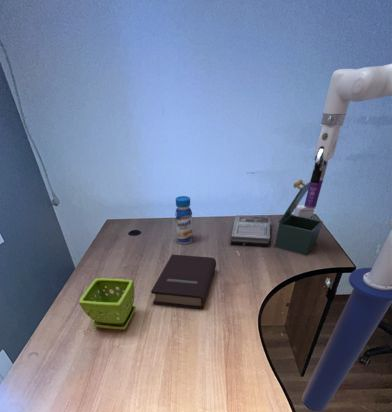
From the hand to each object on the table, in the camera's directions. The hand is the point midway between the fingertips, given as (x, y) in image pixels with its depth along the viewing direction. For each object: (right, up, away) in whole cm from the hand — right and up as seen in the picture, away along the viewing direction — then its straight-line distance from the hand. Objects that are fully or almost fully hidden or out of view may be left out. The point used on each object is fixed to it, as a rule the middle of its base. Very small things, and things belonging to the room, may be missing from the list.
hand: (317, 180), depth 105 cm
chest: (+1, -16, +25) cm, 30 cm away
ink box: (+8, -3, +37) cm, 38 cm away
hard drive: (-19, -7, +35) cm, 40 cm away
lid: (-3, -2, +13) cm, 13 cm away
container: (0, -7, +7) cm, 10 cm away
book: (-52, -42, +3) cm, 67 cm away
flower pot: (-76, -57, -11) cm, 96 cm away
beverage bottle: (-54, -11, +32) cm, 63 cm away
